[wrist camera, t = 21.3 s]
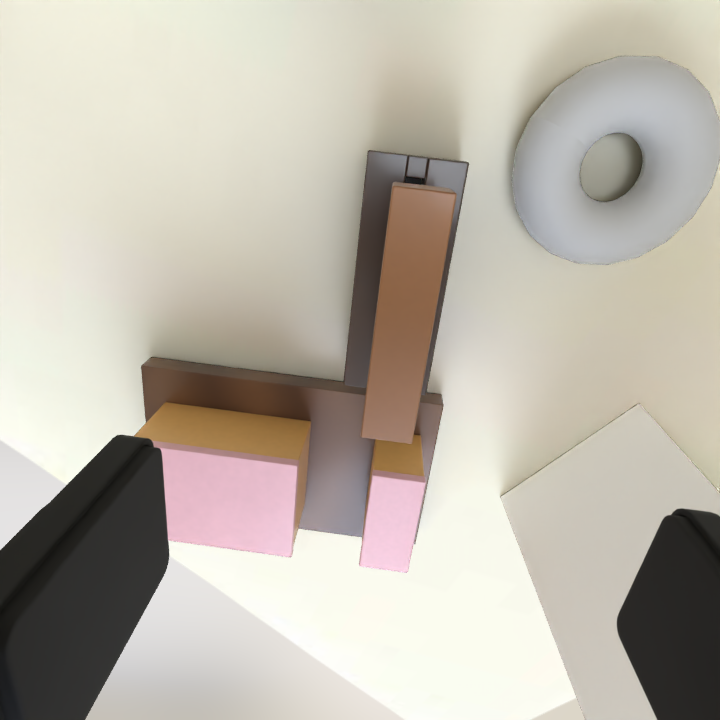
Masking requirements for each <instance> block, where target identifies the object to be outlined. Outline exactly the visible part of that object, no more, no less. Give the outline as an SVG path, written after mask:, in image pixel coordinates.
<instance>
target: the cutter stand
mask: <svg viewBox="0 0 720 720" xmlns="http://www.w3.org/2000/svg"><path fill="white" fill-rule="evenodd" d="M468 166H469V163H468V162H464V161H456V160H448V159H439V158H431V157H423V156H414V155H406V154H397V153H389V152H380V151H371V150H369V151H368V155H367V164H366V174H365V183H364V193H363V202H362V212H361V221H360V231H359V240H358V250H357V259H356V269H355V278H354V288H353V297H352V307H351V316H350V326H349V335H348V345H347V354H346V364H345V373H344V383H343V384H344V385H348V386H355V387H363V388H367V380H368V372H369V364H370V357H371V349H372V341H373V333H374V325H375V317H376V309H377V302H378V294H379V286H380V278H381V270H382V262H383V254H384V247H385V239H386V231H387V223H388V215H389V207H390V199H391V192H392V185H393V182H402V183H405V176H406V177H413V178H421V179H422V181H421V185H427V186H435V187H444V188H449V189H451V190H452V191H454V192H455V193H456V194H457V196H456V202H455V208H454V213H453V219H452V224H451V230H450V235H449V241H448V246H447V252H446V258H445V263H444V269H443V274H442V280H441V285H440V291H439V296H438V302H437V308H436V313H435V319H434V324H433V330H432V335H431V341H430V347H429V352H428V358H427V363H426V369H425V374H424V380H423V385H422V391H421V395H426V393H427V387H428V382H429V376H430V371H431V366H432V360H433V355H434V349H435V344H436V339H437V333H438V328H439V322H440V317H441V312H442V306H443V301H444V295H445V290H446V285H447V279H448V274H449V268H450V263H451V258H452V252H453V247H454V241H455V236H456V231H457V225H458V220H459V214H460V209H461V204H462V198H463V193H464V187H465V182H466V177H467V171H468Z"/></svg>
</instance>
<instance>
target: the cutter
mask: <svg viewBox="0 0 720 720" xmlns="http://www.w3.org/2000/svg"><path fill="white" fill-rule="evenodd" d="M456 196H457V194H456V193H455V192H454V191H452V190H451V189H449V188H444V187H435V186H427V185H418V184H410V183H402V182H393V185H392V192H391V199H390V207H389V215H388V223H387V231H386V239H385V247H384V254H383V262H382V270H381V278H380V286H379V294H378V302H377V309H376V317H375V325H374V333H373V341H372V349H371V357H370V364H369V372H368V380H367V388H366V396H365V404H364V412H363V419H362V427H361V435H360V436H361V437H362V438H370V439H378V440H385V441H393V442H400V443H408V444H412V441H413V435H414V430H415V424H416V419H417V413H418V408H419V402H420V397H421V391H422V385H423V380H424V374H425V369H426V363H427V358H428V352H429V347H430V341H431V335H432V330H433V324H434V319H435V313H436V308H437V302H438V296H439V291H440V285H441V280H442V274H443V269H444V263H445V258H446V252H447V246H448V241H449V235H450V230H451V224H452V219H453V213H454V208H455V202H456Z"/></svg>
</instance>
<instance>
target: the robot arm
mask: <svg viewBox="0 0 720 720" xmlns="http://www.w3.org/2000/svg"><path fill="white" fill-rule="evenodd" d="M168 560H169V545H168V531H167V517H166V503H165V489H164V475H163V461H162V452H161V450H160V448H157V447H154V445H153V442H152V440H151V439H149V438H141V437H134V436H126V435H117V436H116V437H114V438H113V439H112V440H111V441H110V442H109V443H108V444H107V445H106V446H105V447H104V448H103V449H102V450H101V451H100V452H99V453H98V454H97V455H96V456H95V457H94V458H93V459H92V460H91V461H90V462H89V463H88V464H87V465H86V466H85V467H84V468H83V469H82V470H81V471H80V472H79V473H78V474H77V475H76V476H75V477H74V478H73V479H72V480H71V481H70V482H69V483H68V485H67V486H66V487H65V488H64V489H63V490H62V491H61V492H60V493H59V494H58V495H57V496H56V497H55V498H54V499H53V500H52V501H51V502H50V503H49V504H47V505H46V506H45V507H44V508H42V509H41V510H40V511H39V512H38V513H37V514H36V515H35V516H34V517H33V518H32V519H31V520H30V521H29V522H28V523H27V524H26V525H25V526H24V527H23V528H22V529H21V530H20V531H19V532H18V533H17V534H16V535H15V536H14V537H13V538H12V539H11V540H10V541H9V542H8V543H7V544H6V545H5V546H4V547H3V548H2V549H1V550H0V720H85V719H86V717H87V715H88V713H89V711H90V710H91V708H92V706H93V704H94V702H95V700H96V698H97V697H98V695H99V693H100V691H101V689H102V688H103V686H104V684H105V682H106V680H107V679H108V677H109V675H110V673H111V671H112V669H113V667H114V666H115V664H116V662H117V660H118V658H119V657H120V654H121V653H122V651H123V649H124V647H125V645H126V643H127V642H128V640H129V638H130V636H131V635H132V633H133V631H134V629H135V627H136V625H137V624H138V622H139V620H140V618H141V616H142V615H143V613H144V611H145V609H146V607H147V605H148V604H149V602H150V600H151V598H152V596H153V594H154V593H155V591H156V589H157V587H158V585H159V583H160V582H161V580H162V578H163V576H164V574H165V572H166V569H167V565H168ZM617 631H618V635H619V638H620V640H621V642H622V645H623V647H624V649H625V651H626V653H627V655H628V658H629V660H630V662H631V664H632V666H633V668H634V671H635V673H636V675H637V677H638V679H639V682H640V684H641V686H642V688H643V690H644V692H645V695H646V697H647V699H648V701H649V703H650V705H651V708H652V710H653V712H654V714H655V716H656V718H657V720H720V516H719V515H717V514H715V513H712V512H706V511H699V510H691V509H684V508H680V509H676V510H675V511H673V513H672V514H671V515H667V516H665V517H664V518H663V520H662V522H661V524H660V526H659V528H658V530H657V532H656V534H655V537H654V539H653V541H652V543H651V545H650V547H649V549H648V552H647V554H646V556H645V558H644V560H643V562H642V564H641V567H640V569H639V571H638V573H637V575H636V577H635V579H634V582H633V584H632V586H631V588H630V590H629V592H628V594H627V597H626V599H625V601H624V603H623V605H622V607H621V609H620V612H619V614H618V617H617Z"/></svg>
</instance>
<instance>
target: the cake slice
mask: <svg viewBox="0 0 720 720" xmlns="http://www.w3.org/2000/svg"><path fill="white" fill-rule="evenodd" d="M425 484H426V479H425V477H424V468H423V456H422V443H421V436H420V435H413V441H412V444H408V443H400V442H393V441H385V440H378V439H375V444H374V451H373V458H372V465H371V472H370V479H369V486H368V493H367V500H366V507H365V515H364V526H363V537H362V547H361V553H360V561H359V566H362V567H369V568H376V569H383V570H391V571H398V572H405V573H407V572H408V568H409V563H410V558H411V553H412V548H413V543H414V539H415V534H416V529H417V524H418V519H419V514H420V509H421V504H422V499H423V494H424V489H425Z"/></svg>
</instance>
